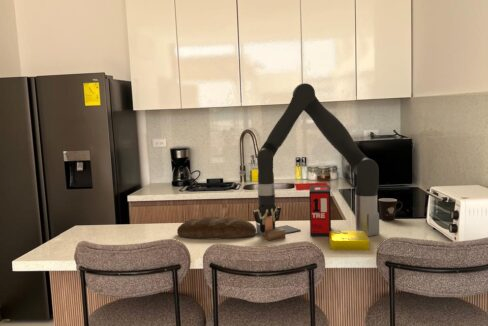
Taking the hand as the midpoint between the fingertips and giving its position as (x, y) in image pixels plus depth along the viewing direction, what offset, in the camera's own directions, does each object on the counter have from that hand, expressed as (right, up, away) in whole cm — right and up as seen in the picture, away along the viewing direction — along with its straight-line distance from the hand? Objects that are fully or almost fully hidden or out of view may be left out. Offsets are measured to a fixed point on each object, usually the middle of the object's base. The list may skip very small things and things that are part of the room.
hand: (267, 231), depth 185 cm
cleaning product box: (+24, -1, +4) cm, 25 cm away
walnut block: (+3, -3, -5) cm, 6 cm away
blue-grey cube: (-2, -2, +6) cm, 6 cm away
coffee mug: (+62, +2, +21) cm, 66 cm away
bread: (-23, -3, +5) cm, 24 cm away
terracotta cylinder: (0, -1, 0) cm, 1 cm away
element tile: (+31, -3, -17) cm, 36 cm away
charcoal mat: (+9, -1, +9) cm, 12 cm away
